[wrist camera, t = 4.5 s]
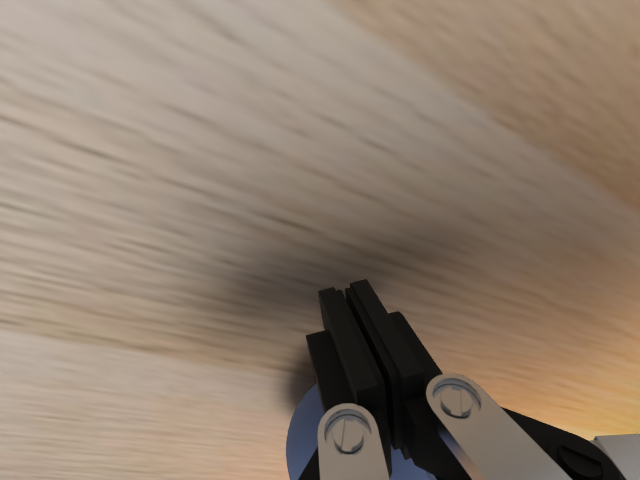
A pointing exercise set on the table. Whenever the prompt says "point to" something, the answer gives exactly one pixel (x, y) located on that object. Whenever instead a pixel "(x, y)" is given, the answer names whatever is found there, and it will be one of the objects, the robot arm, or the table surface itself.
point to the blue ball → (305, 441)
